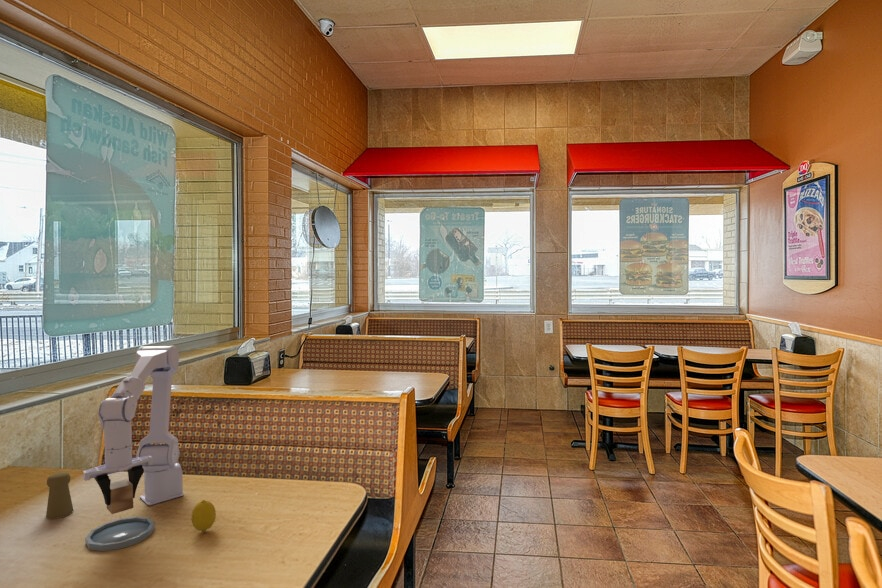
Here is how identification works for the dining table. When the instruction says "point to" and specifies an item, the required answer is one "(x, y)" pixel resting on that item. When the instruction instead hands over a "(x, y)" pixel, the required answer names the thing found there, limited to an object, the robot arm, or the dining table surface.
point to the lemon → (203, 515)
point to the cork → (59, 495)
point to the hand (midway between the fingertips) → (119, 500)
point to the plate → (119, 533)
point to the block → (120, 496)
